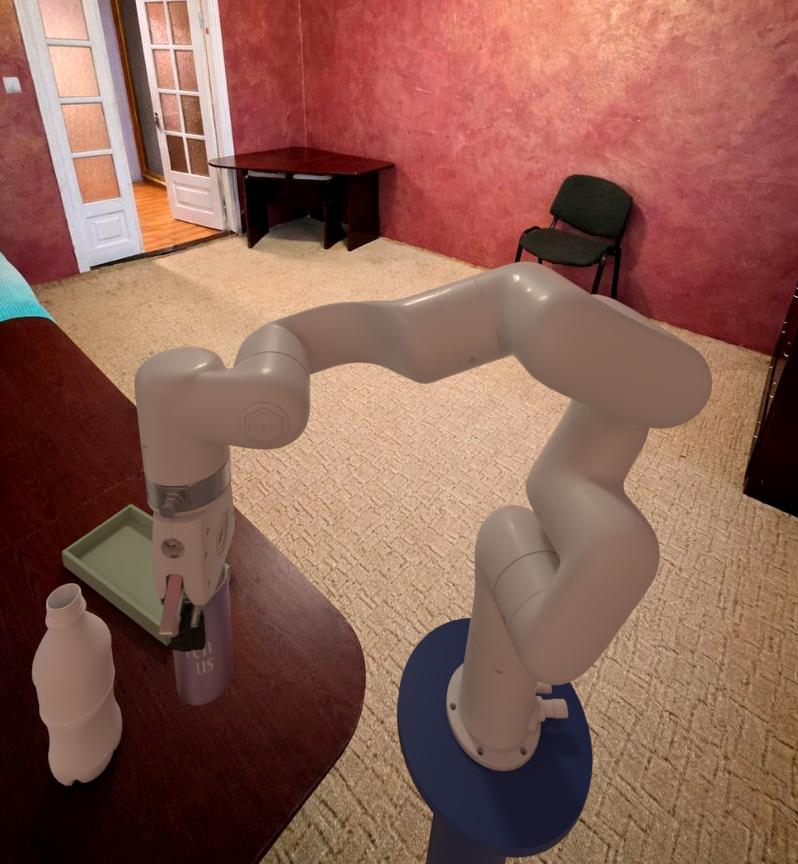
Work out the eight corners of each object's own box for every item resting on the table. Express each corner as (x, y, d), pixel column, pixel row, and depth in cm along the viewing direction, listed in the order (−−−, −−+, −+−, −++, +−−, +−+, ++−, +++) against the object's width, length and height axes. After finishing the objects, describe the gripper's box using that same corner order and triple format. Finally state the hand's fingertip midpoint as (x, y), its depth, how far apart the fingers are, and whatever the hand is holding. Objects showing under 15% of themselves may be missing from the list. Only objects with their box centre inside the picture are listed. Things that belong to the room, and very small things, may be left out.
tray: (231, 579, 80) (230, 565, 79) (166, 646, 69) (165, 631, 68) (132, 516, 90) (131, 503, 89) (63, 565, 80) (61, 551, 79)
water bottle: (137, 738, 59) (119, 582, 52) (79, 811, 53) (49, 644, 45) (97, 708, 62) (75, 555, 54) (38, 773, 55) (3, 610, 48)
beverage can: (236, 646, 58) (230, 548, 53) (231, 703, 52) (225, 598, 48) (182, 656, 56) (172, 556, 52) (171, 715, 51) (159, 609, 46)
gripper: (198, 552, 38) (210, 707, 43) (251, 420, 55) (255, 545, 60) (100, 552, 38) (124, 709, 43) (183, 419, 54) (193, 545, 59)
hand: (200, 612), depth 51 cm, fingers closed on beverage can, 6 cm apart
